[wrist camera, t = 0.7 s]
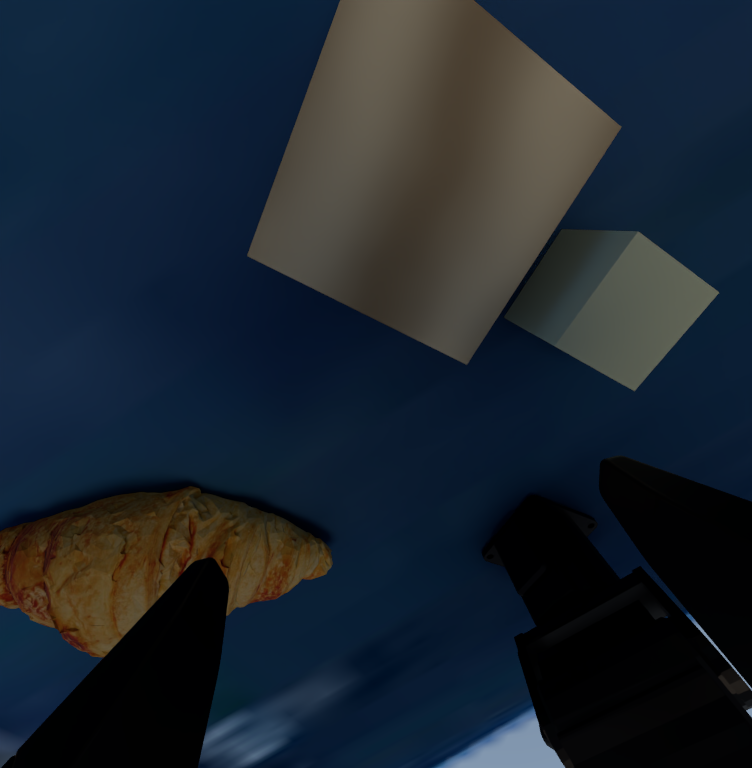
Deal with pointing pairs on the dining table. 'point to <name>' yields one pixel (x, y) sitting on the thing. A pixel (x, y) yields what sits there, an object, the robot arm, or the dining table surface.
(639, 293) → the sage cube
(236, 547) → the croissant
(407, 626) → the dining table surface
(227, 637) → the dining table surface
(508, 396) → the dining table surface
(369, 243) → the birch plinth
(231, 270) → the dining table surface
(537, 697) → the robot arm
